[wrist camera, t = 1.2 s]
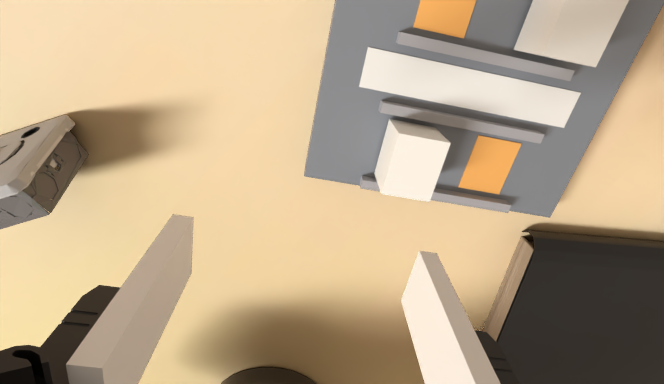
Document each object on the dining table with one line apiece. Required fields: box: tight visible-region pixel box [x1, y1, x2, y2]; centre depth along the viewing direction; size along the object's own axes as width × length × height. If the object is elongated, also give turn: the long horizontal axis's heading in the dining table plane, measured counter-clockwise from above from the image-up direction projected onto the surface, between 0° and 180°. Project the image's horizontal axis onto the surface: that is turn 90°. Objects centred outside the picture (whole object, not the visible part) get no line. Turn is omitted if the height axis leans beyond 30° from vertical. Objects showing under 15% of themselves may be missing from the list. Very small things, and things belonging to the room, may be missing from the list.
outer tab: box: [514, 0, 629, 67], centre depth 25 cm, size 5×4×4 cm
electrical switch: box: [0, 115, 89, 229], centre depth 29 cm, size 9×5×9 cm, turn 106°
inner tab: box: [374, 119, 451, 202], centre depth 29 cm, size 5×4×4 cm
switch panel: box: [304, 0, 664, 217], centre depth 30 cm, size 20×24×3 cm
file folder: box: [482, 230, 664, 384], centre depth 43 cm, size 33×4×24 cm
